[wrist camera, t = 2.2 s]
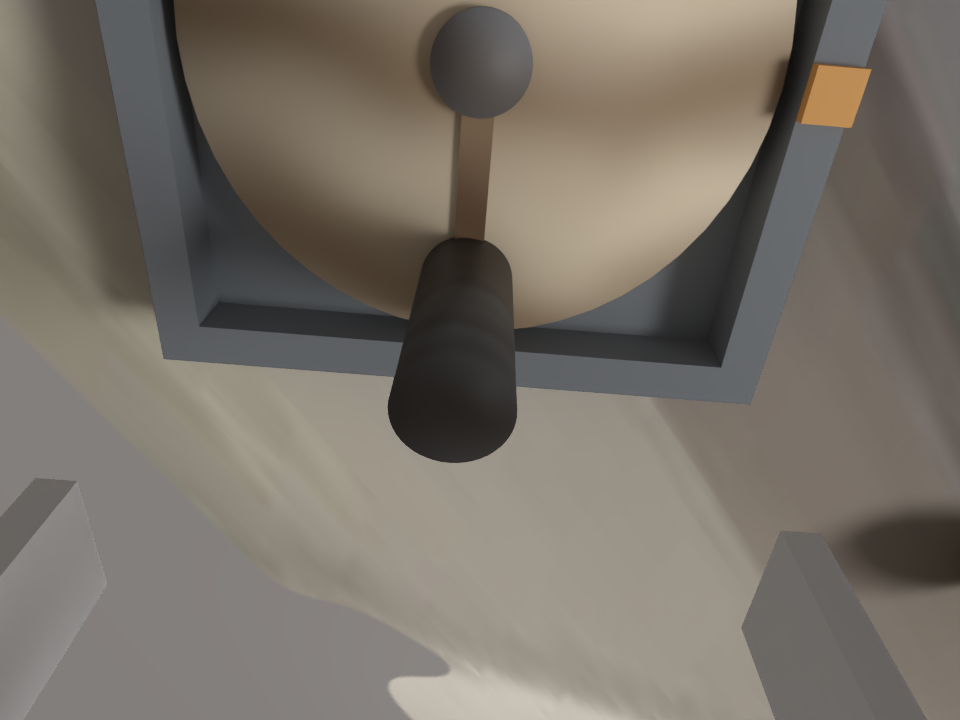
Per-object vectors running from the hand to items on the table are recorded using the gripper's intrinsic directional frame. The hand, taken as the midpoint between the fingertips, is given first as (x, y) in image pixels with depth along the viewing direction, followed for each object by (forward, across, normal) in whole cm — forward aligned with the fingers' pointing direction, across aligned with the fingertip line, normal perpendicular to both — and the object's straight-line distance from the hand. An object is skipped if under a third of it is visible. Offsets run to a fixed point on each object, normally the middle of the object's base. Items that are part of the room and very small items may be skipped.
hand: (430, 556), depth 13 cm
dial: (+14, 0, +7) cm, 16 cm away
